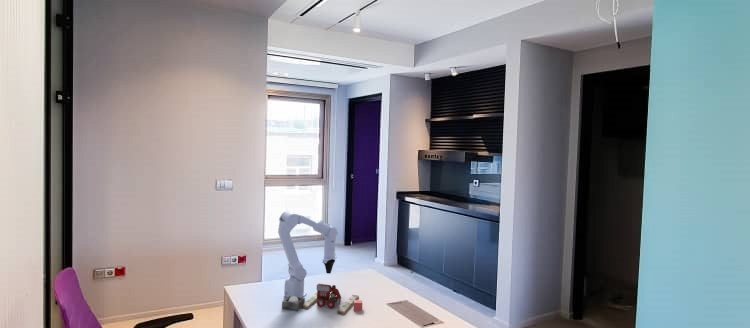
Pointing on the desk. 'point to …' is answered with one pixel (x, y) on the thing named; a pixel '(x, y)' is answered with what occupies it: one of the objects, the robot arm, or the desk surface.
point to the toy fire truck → (327, 296)
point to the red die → (357, 305)
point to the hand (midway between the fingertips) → (328, 273)
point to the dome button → (293, 299)
